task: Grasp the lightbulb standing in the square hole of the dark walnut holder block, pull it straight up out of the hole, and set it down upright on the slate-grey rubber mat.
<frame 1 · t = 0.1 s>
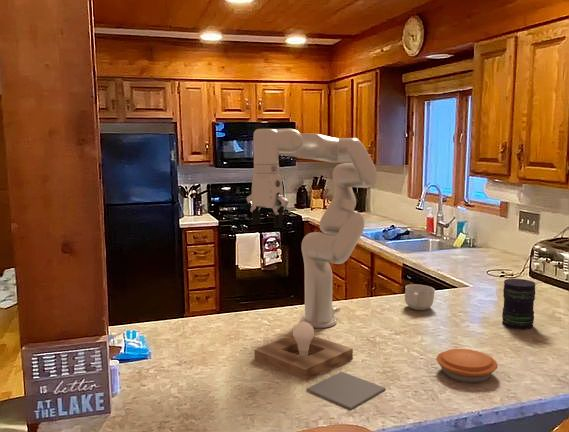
hand: (267, 225, 161), 37 cm above the worktop, tool pointing down, fingers open, 9 cm apart
lightbulb: (303, 359, 151), resting in holder
teacup: (417, 309, 197), on the worktop
pie: (465, 374, 141), on the worktop
mat: (345, 390, 131), on the worktop
holder: (303, 358, 151), on the worktop
storage jar: (517, 325, 178), on the worktop
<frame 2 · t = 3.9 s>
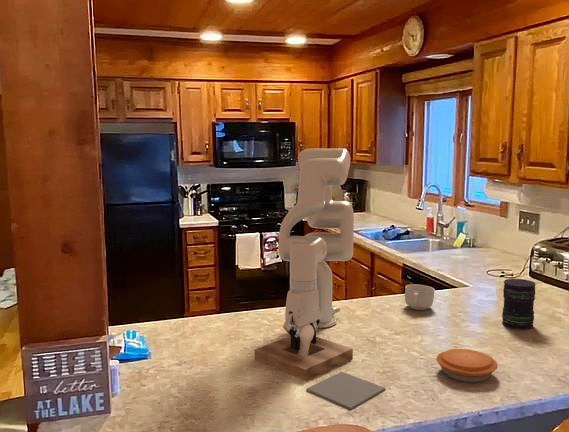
hand: (303, 345, 150), 4 cm above the worktop, tool pointing down, fingers closed on lightbulb, 6 cm apart
lightbulb: (303, 359, 151), resting in holder, touching gripper
everything else where it was.
when the fingers open (6 cm above the worktop, at t = 11.9 s): lightbulb drops 1 cm, resting on mat.
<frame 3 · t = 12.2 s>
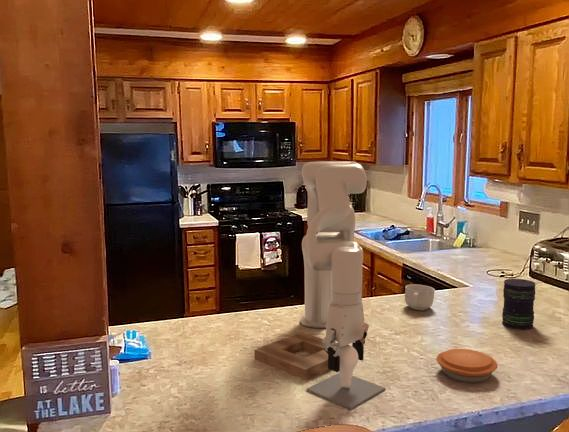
hand: (346, 364, 131), 7 cm above the worktop, tool pointing down, fingers open, 9 cm apart
lightbulb: (346, 388, 132), resting on mat
everything else where it was.
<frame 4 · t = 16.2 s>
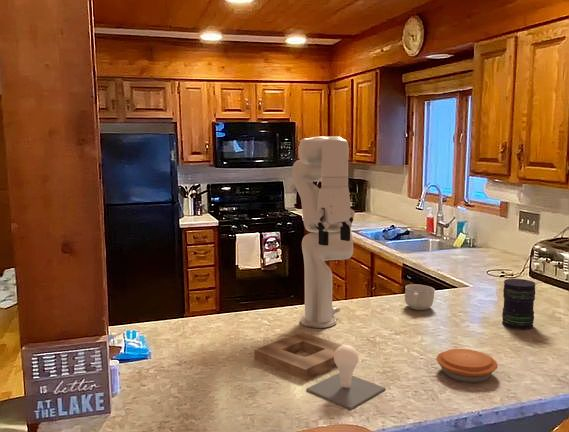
hand: (334, 242, 150), 33 cm above the worktop, tool pointing down, fingers open, 9 cm apart
nothing on the worktop moved.
at the end: lightbulb inside the target area on the mat (0.3 cm from its centre), point 0.3 cm above the mat's base; lightbulb tilted 0°; the gripper is holding nothing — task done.
